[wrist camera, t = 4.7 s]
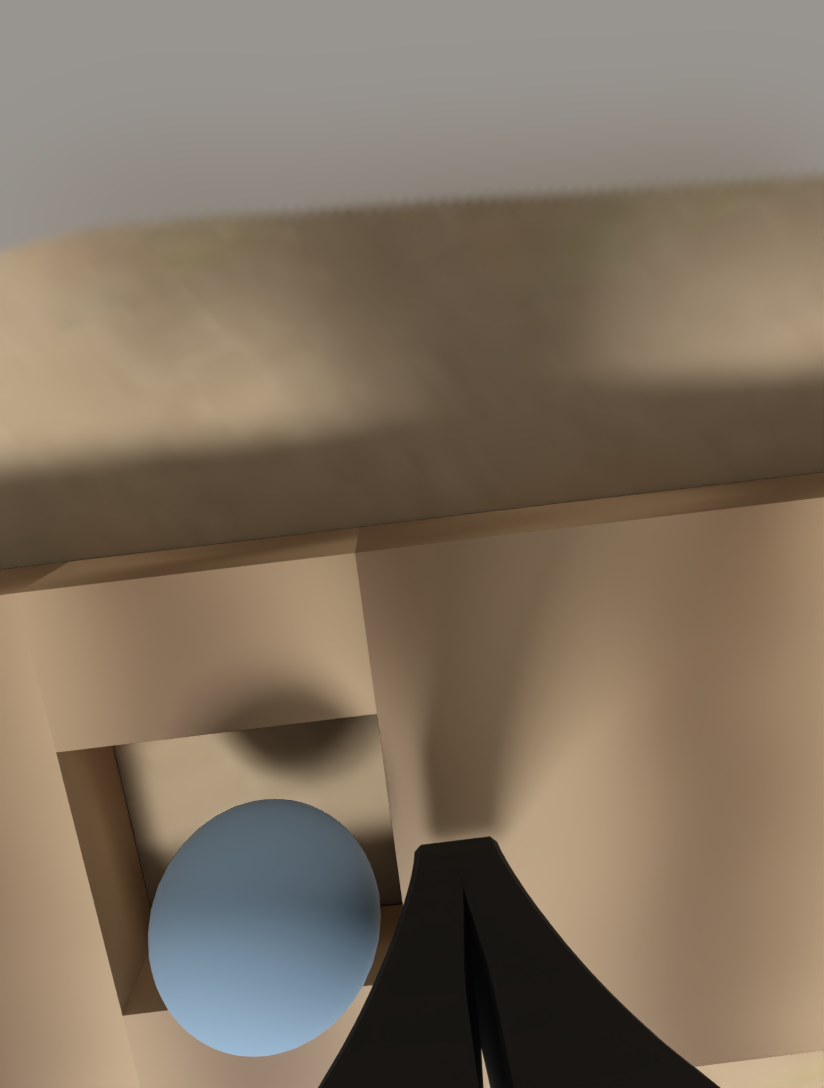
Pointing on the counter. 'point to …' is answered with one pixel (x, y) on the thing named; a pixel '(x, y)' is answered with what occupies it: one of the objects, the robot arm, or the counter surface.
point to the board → (445, 754)
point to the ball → (264, 927)
